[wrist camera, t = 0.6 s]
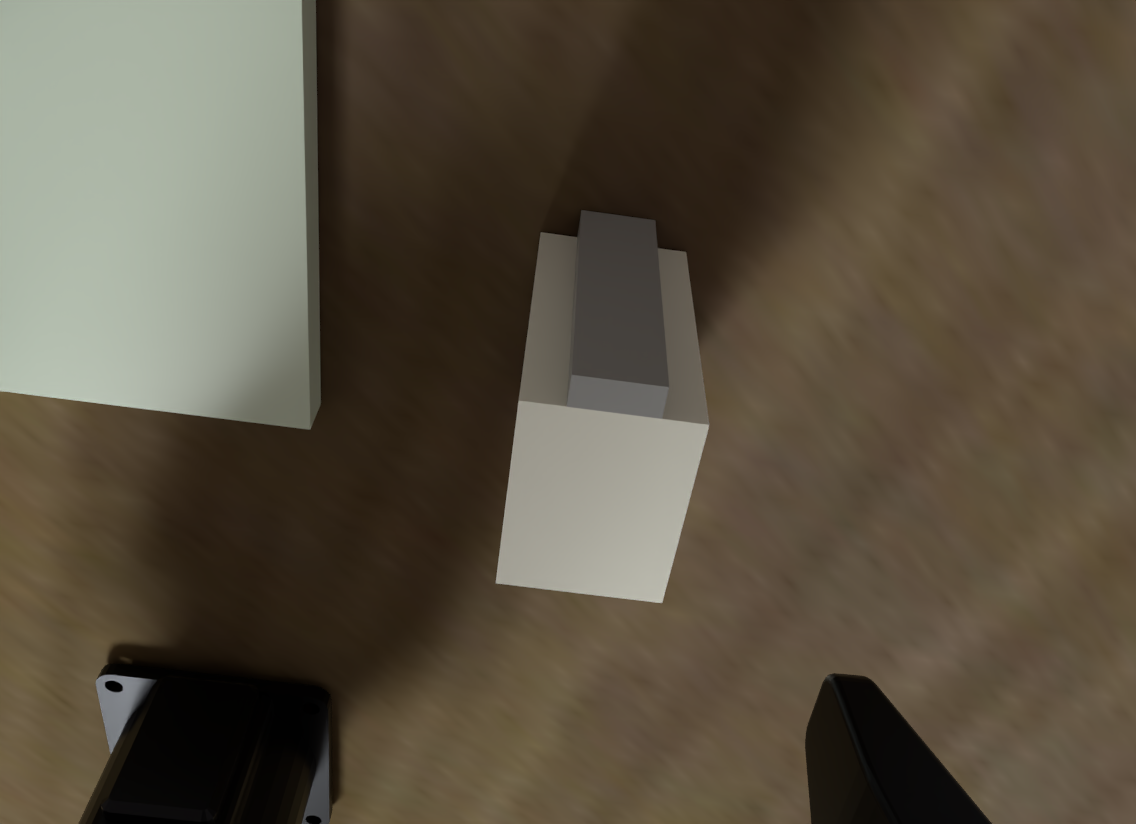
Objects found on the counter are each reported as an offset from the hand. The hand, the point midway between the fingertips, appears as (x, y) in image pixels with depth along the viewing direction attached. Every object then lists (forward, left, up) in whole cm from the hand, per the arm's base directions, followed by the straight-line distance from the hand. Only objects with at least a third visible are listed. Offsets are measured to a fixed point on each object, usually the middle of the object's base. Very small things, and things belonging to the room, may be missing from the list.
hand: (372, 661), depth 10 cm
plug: (-3, -3, -12) cm, 13 cm away
